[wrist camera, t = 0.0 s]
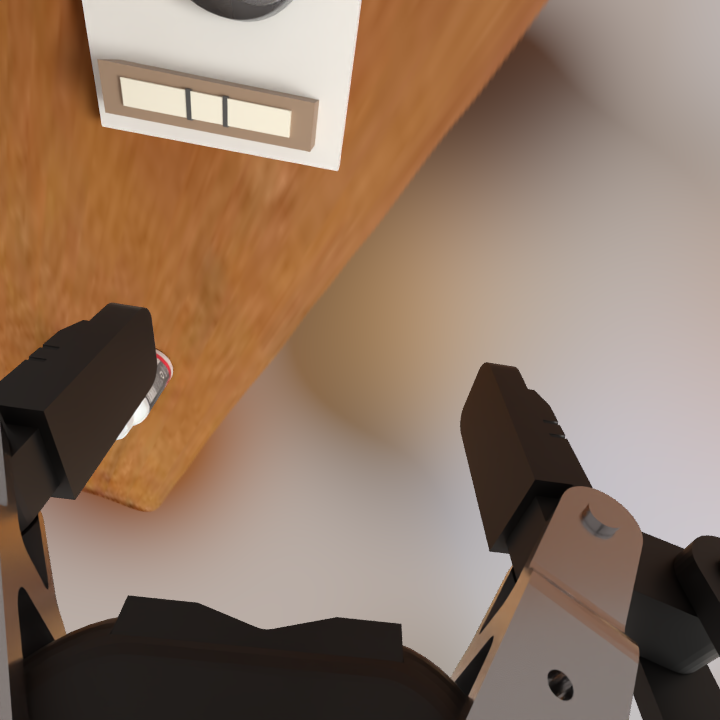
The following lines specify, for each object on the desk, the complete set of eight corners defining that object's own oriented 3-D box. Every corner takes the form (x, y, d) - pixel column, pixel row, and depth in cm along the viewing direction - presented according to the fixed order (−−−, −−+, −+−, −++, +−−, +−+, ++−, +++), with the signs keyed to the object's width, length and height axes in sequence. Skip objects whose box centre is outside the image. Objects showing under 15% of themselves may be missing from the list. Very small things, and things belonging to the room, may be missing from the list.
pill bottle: (149, 389, 49) (106, 452, 41) (114, 355, 47) (61, 416, 39) (184, 372, 48) (147, 434, 40) (150, 336, 45) (102, 395, 37)
